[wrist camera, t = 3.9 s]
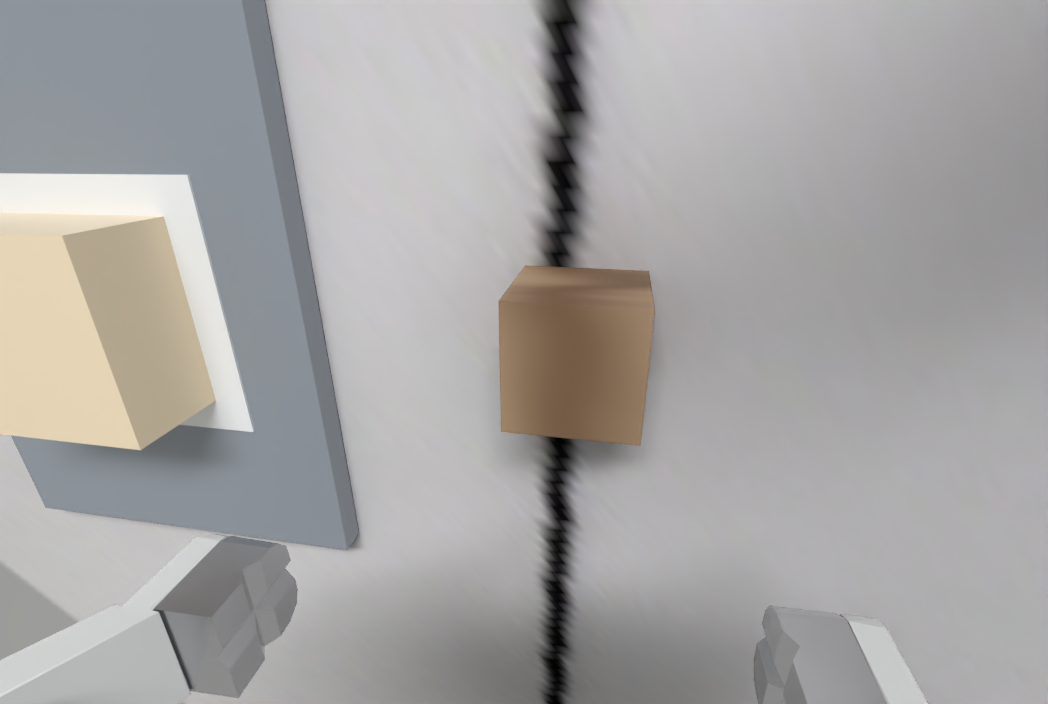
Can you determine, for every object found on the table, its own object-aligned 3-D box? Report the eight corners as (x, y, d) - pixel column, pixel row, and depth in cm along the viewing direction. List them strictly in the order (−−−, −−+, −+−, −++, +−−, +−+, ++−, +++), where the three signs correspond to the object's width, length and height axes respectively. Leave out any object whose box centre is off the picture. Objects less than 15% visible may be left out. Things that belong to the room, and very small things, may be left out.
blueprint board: (257, -39, 17) (112, -104, 12) (359, 533, 26) (300, 621, 22) (-161, -9, 20) (-408, -52, 15) (67, 493, 29) (-40, 563, 25)
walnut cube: (648, 270, 18) (654, 310, 14) (637, 382, 20) (640, 445, 16) (525, 264, 19) (498, 301, 15) (525, 373, 21) (501, 431, 17)
